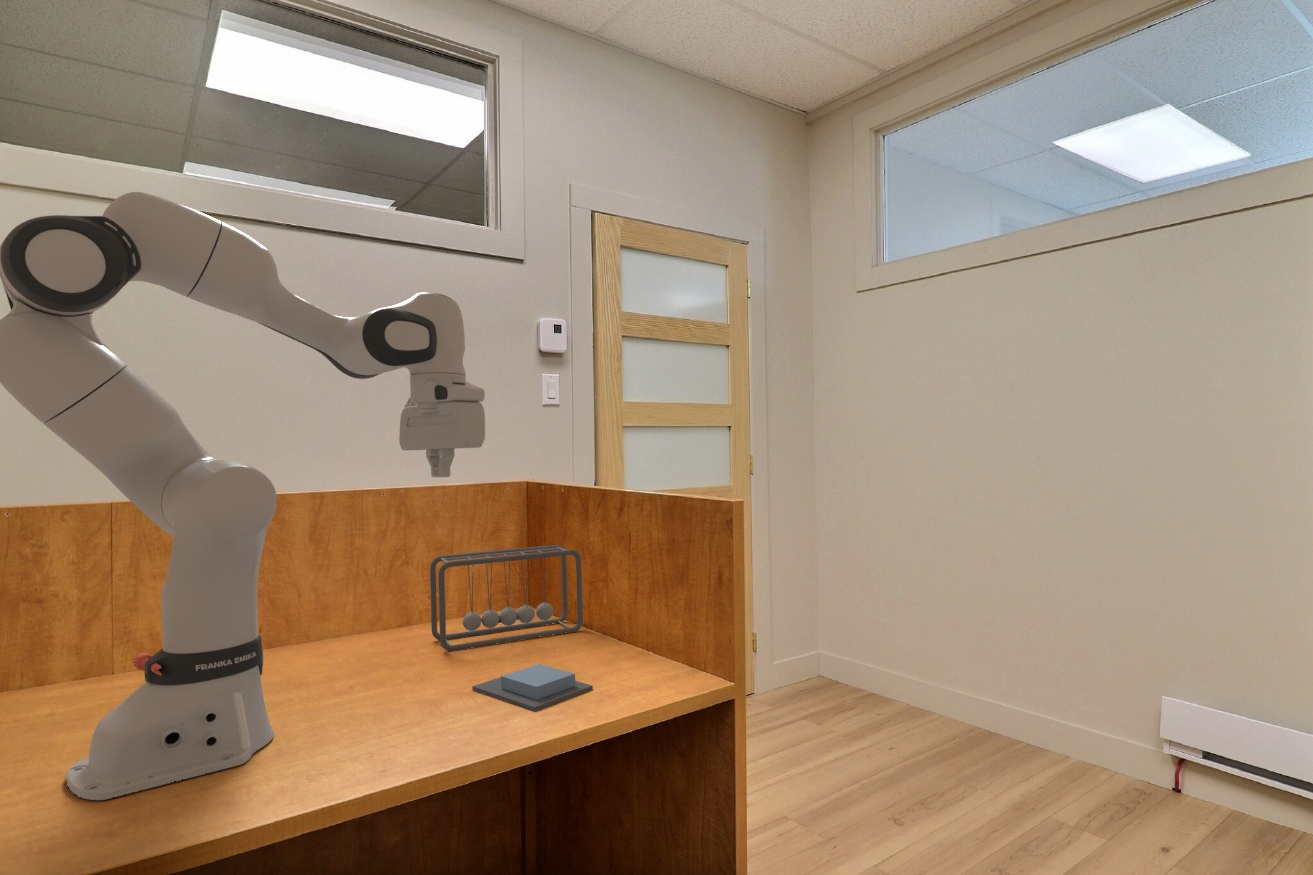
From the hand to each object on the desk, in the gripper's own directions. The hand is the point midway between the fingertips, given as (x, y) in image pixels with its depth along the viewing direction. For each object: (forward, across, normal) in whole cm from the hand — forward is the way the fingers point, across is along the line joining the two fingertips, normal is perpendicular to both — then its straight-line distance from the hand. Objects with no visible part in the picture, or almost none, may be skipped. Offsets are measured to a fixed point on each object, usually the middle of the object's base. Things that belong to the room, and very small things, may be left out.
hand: (440, 477), depth 117 cm
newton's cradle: (+35, -20, +28) cm, 49 cm away
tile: (+34, +8, +9) cm, 36 cm away
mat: (+35, +11, +9) cm, 38 cm away
